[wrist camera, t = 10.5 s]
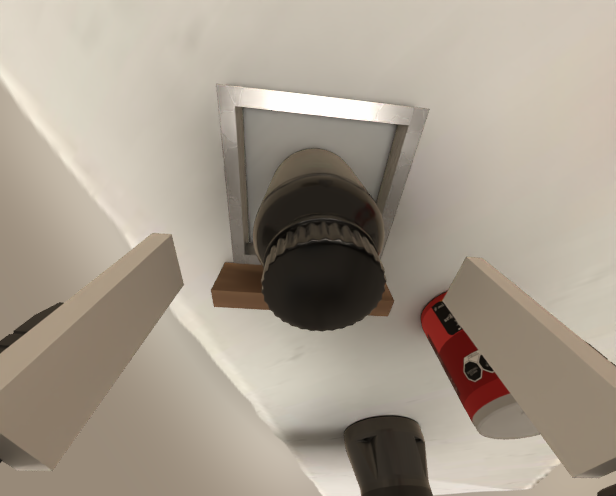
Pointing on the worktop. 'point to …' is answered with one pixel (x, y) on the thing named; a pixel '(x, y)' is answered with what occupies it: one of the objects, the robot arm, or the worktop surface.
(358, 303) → the supplement bottle
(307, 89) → the worktop surface
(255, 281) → the door edge rail
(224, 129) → the frame
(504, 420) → the canned food
